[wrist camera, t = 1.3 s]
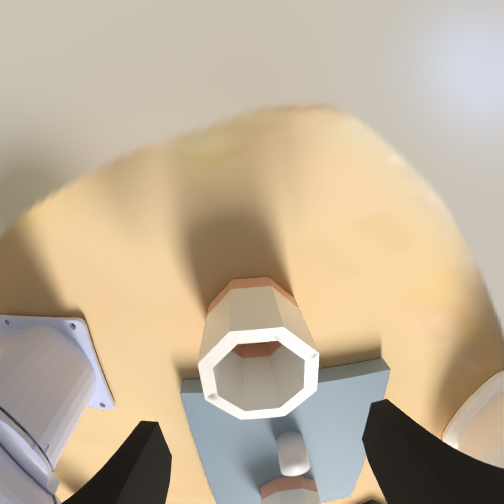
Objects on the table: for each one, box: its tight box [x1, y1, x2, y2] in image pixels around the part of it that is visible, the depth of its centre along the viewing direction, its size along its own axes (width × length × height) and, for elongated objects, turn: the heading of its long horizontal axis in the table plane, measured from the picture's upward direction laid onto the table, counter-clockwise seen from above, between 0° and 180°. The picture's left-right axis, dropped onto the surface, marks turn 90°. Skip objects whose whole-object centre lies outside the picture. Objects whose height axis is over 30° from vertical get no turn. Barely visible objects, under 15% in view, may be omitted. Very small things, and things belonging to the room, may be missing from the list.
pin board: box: [180, 358, 390, 504], centre depth 19 cm, size 14×19×4 cm
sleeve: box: [197, 277, 319, 420], centre depth 15 cm, size 5×5×6 cm
